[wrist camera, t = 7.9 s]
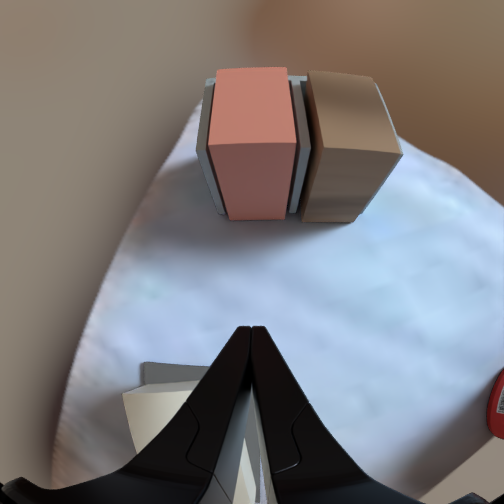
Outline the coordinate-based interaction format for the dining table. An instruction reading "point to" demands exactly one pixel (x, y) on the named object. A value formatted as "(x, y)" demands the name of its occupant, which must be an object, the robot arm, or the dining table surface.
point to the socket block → (301, 152)
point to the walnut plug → (344, 146)
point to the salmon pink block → (253, 141)
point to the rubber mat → (184, 373)
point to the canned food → (496, 408)
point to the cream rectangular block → (161, 412)
